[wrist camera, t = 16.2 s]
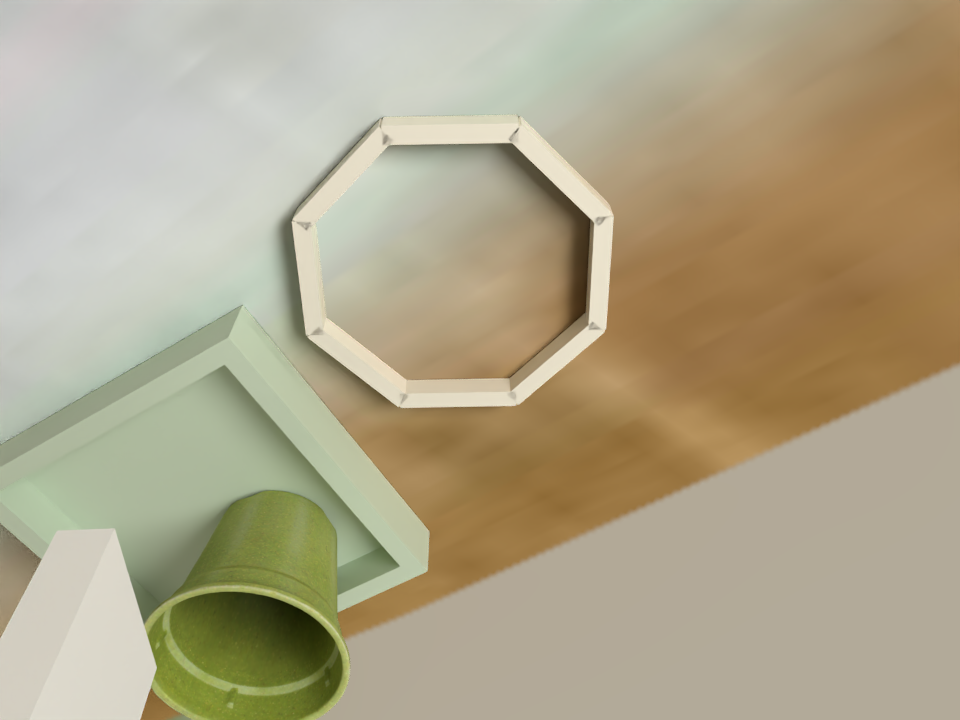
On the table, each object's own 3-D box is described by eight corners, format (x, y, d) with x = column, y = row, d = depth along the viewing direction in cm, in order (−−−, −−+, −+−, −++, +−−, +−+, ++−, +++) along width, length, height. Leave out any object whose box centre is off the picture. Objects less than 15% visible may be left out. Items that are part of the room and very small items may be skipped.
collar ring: (318, 395, 45) (315, 409, 44) (284, 118, 38) (279, 127, 37) (597, 390, 45) (601, 404, 44) (615, 112, 38) (619, 121, 37)
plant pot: (172, 574, 50) (121, 710, 42) (206, 440, 45) (155, 566, 38) (340, 614, 51) (320, 751, 44) (389, 489, 47) (375, 618, 39)
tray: (196, 640, 53) (182, 682, 51) (-11, 451, 46) (-39, 489, 44) (429, 531, 49) (427, 571, 47) (242, 305, 42) (228, 337, 40)
